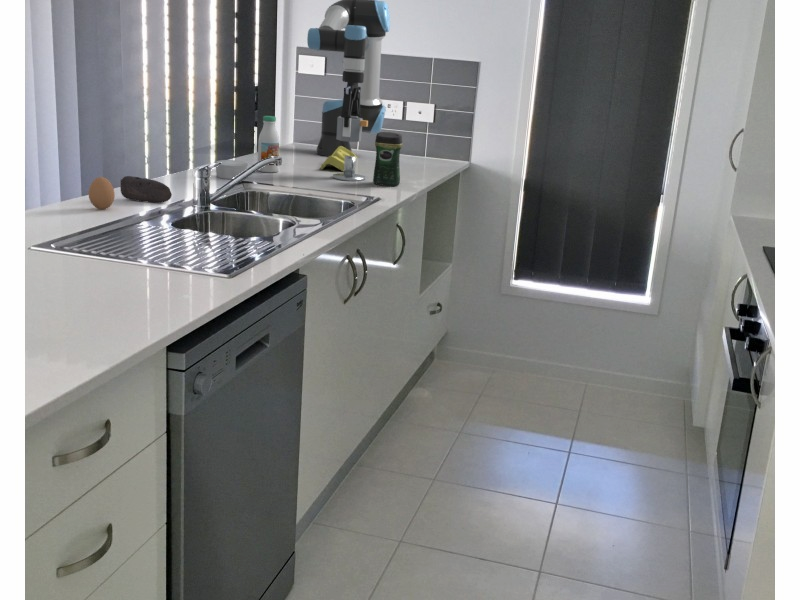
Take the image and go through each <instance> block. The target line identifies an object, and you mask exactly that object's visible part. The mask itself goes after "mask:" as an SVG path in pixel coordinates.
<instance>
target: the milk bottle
mask: <svg viewBox="0 0 800 600" xmlns="http://www.w3.org/2000/svg"><path fill="white" fill-rule="evenodd" d="M262 123H263V124H262V125H263V126H262V128H261V131H260V133H259V136H258V142H257V145H258V146H257V162H258V161H260V160H262V159H265V158H268V157H271V156H279V157H280V137H279V134H278V131H277V128H276V124H277V117H276V116H274V115H263V117H262ZM279 167H280V166H276V165H274V164H269V165H266V166H265V167H263V168H261V169H260V170H258V169H257V171H259V172H263V173H278V172H279V169H280V168H279Z"/></svg>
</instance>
